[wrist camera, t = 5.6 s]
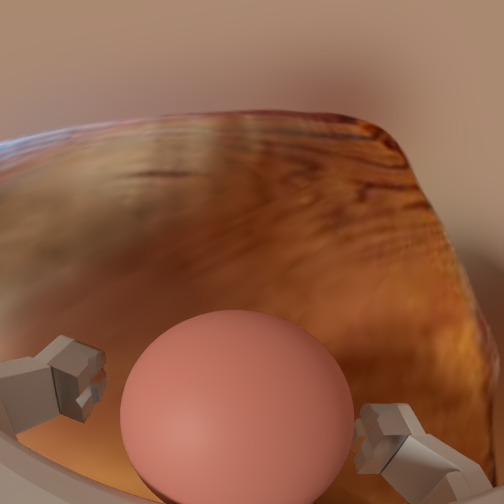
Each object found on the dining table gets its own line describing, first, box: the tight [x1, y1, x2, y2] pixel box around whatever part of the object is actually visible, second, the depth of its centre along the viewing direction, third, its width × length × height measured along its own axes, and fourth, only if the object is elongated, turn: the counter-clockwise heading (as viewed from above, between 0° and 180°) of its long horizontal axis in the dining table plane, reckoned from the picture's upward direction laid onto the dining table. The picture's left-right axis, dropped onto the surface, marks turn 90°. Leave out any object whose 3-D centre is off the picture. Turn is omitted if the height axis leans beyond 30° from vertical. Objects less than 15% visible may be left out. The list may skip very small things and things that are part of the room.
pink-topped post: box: [120, 310, 354, 504], centre depth 9 cm, size 4×4×12 cm
